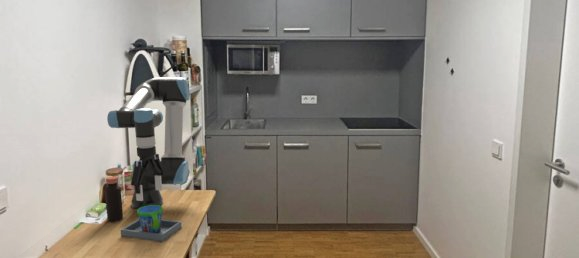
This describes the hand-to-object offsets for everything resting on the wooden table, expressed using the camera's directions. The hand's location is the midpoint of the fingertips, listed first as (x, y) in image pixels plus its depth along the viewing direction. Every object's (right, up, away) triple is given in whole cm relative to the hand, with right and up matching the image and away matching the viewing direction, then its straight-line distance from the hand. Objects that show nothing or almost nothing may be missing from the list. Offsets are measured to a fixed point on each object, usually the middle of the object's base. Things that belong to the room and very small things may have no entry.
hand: (149, 195), depth 191 cm
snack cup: (0, -16, +2) cm, 16 cm away
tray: (0, -16, +3) cm, 17 cm away
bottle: (-21, -14, +18) cm, 31 cm away
